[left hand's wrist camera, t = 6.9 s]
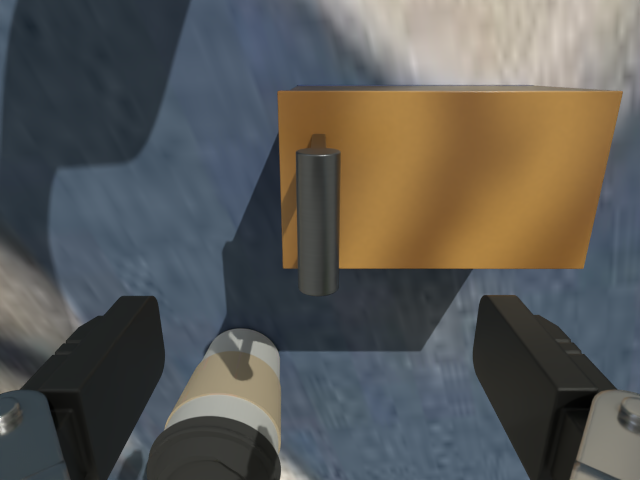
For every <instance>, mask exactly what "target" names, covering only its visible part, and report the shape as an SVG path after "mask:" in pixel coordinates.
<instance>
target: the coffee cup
mask: <svg viewBox="0 0 640 480" xmlns="http://www.w3.org/2000/svg"><path fill="white" fill-rule="evenodd" d="M279 381H280V357H279V353H278V351H277V348H276V347H275V345H274V344H273V343H272V341H271V340H270V339H268V338H267V337H266V336H264V335H263V334H261V333H259V332H257V331H254V330H250V329H242V328H240V329H232V330H228V331H225V332H223V333H222V334H220V335H219V336H217V337H216V338H215V339H214V340H213V342H212V343H211V345H210V347H209V349H208V351H207V352H206V354H205V356H204V358H203V360H202V362H201V363H200V364H199V365H198V366H197V368H196V369H195V371H194V373H193V375H192V376H191V378H190V380H189V382H188V384H187V385H186V387H185V389H184V391H183V393H182V394H181V396H180V398H179V400H178V402H177V404H176V405H175V407H174V409H173V411H172V413H171V414H170V416H169V418H168V420H167V422H166V425H165V430H164V431H163V432H162V433H161V434H160V435H159V436H158V437H157V439H156V440H155V442H154V443H153V445H152V447H151V450H150V453H149V459H148V463H147V479H148V480H280V475H281V465H280V460H279V457H278V454H279V451H280V445H281V386H280V382H279Z"/></svg>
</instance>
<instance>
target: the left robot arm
mask: <svg viewBox="0 0 640 480" xmlns="http://www.w3.org/2000/svg"><path fill="white" fill-rule="evenodd" d="M164 362H165V349H164V342H163V335H162V328H161V321H160V314H159V307H158V302H157V300H156V298H155V297H154V296H121V297H120V298H119V299H118V300H117V301H116V302H115V303H114V305H113V306H112V307H111V308H110V309H109V310H108V311H107V312H106V314H105V315H104V316H97V317H95V318H94V319H92V320H90V321H89V322H87V323H85V324H84V325H82V326H80V327H79V328H78V329H77V330H76V331H75V332H74V333H73V334H72V335H71V336H70V337H69V338H68V339H67V340H66V343H63V344H62V346H61V347H60V348H59V349H58V350H57V351H56V352H55V355H52V356H51V357H50V358H49V359H48V360H47V361H46V362H45V364H44V365H43V366H42V367H41V368H40V369H39V370H38V371H37V372H36V373H35V374H34V375H33V376H32V377H31V378H30V379H29V380H28V382H27V383H26V384H25V385H24V386H23V387H22V388H21V389H20V390H15V391H10V392H6V393H2V394H0V480H107V479H108V477H109V475H110V473H111V471H112V469H113V467H114V465H115V464H116V462H117V460H118V458H119V456H120V454H121V452H122V450H123V448H124V446H125V444H126V442H127V441H128V439H129V437H130V435H131V433H132V431H133V429H134V427H135V425H136V423H137V421H138V420H139V418H140V416H141V414H142V412H143V410H144V408H145V406H146V404H147V402H148V400H149V398H150V397H151V395H152V393H153V391H154V389H155V387H156V385H157V383H158V381H159V379H160V377H161V375H162V372H163V368H164ZM473 364H474V369H475V373H476V375H477V377H478V379H479V381H480V383H481V385H482V387H483V389H484V391H485V393H486V395H487V397H488V399H489V401H490V402H491V404H492V406H493V408H494V410H495V412H496V414H497V416H498V418H499V420H500V422H501V424H502V426H503V428H504V430H505V432H506V433H507V435H508V437H509V439H510V441H511V443H512V445H513V447H514V449H515V451H516V453H517V455H518V457H519V459H520V461H521V463H522V464H523V466H524V468H525V470H526V472H527V474H528V476H529V478H530V480H640V394H638V393H634V392H630V391H625V390H617V389H616V388H615V386H614V385H613V384H612V383H611V382H610V381H609V380H608V379H607V378H606V377H605V376H604V375H603V374H602V373H601V372H600V370H599V369H598V368H597V367H596V366H595V365H594V364H593V363H592V362H591V361H590V360H589V359H588V358H587V357H586V356H585V354H582V353H581V350H580V349H579V348H578V347H577V346H576V345H575V344H574V343H571V339H570V338H569V337H568V336H567V335H566V334H565V333H564V332H563V331H562V330H561V329H560V328H559V327H558V326H557V325H555V324H553V323H552V322H550V321H548V320H547V319H545V318H543V317H541V316H540V315H533V314H532V313H531V312H530V310H529V309H528V308H527V307H526V306H525V305H524V304H523V302H522V301H521V300H520V299H519V298H518V297H517V296H515V295H484V296H483V297H482V298H481V300H480V304H479V310H478V317H477V324H476V331H475V338H474V346H473Z"/></svg>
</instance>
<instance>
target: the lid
mask: <svg viewBox="0 0 640 480" xmlns="http://www.w3.org/2000/svg"><path fill="white" fill-rule="evenodd" d="M622 94H623V92H622V91H278V124H279V156H280V188H281V220H282V251H283V268H284V269H298V288H299V290H300V291H301V292H302V293H304V294H307V295H311V296H326V295H330V294H333V293H334V292H336V291H337V290H338V288H339V269H583V268H584V263H585V259H586V254H587V250H588V245H589V241H590V236H591V232H592V227H593V223H594V219H595V214H596V210H597V205H598V201H599V196H600V192H601V187H602V183H603V178H604V174H605V169H606V165H607V160H608V156H609V152H610V147H611V143H612V138H613V134H614V129H615V125H616V120H617V116H618V111H619V107H620V102H621V98H622Z"/></svg>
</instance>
